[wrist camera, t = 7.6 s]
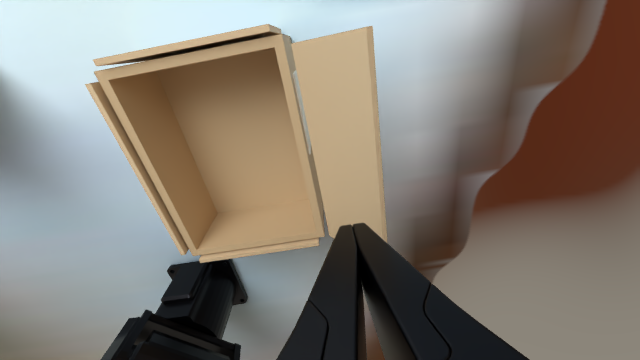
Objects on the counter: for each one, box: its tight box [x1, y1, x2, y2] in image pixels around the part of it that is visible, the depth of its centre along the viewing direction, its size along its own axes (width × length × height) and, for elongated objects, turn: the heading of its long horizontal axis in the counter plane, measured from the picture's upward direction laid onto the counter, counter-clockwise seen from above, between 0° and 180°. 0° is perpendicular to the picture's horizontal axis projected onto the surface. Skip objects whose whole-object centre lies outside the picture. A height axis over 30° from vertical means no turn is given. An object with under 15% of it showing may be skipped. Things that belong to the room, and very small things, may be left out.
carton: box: [85, 24, 325, 263], centre depth 18 cm, size 14×11×5 cm
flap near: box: [291, 26, 387, 243], centre depth 14 cm, size 12×5×1 cm
